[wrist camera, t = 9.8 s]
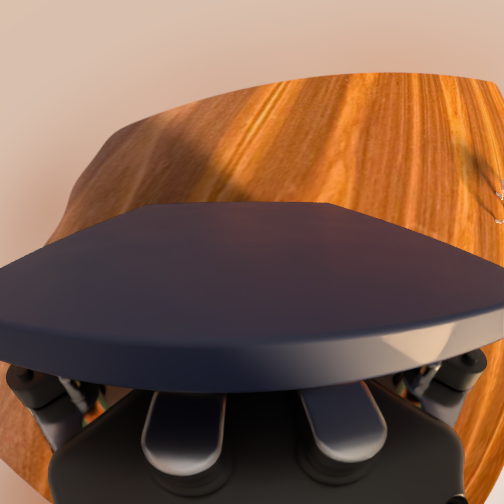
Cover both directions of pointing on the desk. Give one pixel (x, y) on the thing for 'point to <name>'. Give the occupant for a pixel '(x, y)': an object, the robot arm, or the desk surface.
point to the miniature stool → (502, 199)
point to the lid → (245, 299)
